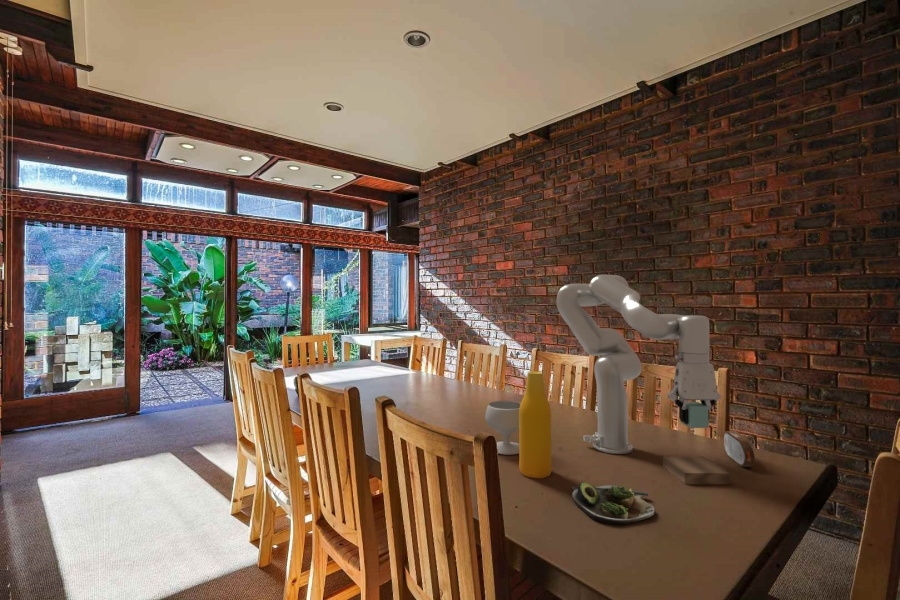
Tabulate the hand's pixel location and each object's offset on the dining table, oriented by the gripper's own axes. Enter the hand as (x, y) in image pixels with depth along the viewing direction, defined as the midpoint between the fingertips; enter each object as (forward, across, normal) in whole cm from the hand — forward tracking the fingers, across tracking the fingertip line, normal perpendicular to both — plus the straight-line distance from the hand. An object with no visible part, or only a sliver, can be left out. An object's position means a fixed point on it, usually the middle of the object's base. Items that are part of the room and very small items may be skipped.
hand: (694, 421), depth 120 cm
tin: (+15, +19, +10) cm, 26 cm away
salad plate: (+16, -31, -18) cm, 39 cm away
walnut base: (+15, 0, 0) cm, 15 cm away
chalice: (+15, -51, +21) cm, 57 cm away
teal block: (+1, 0, 0) cm, 1 cm away
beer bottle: (+15, -45, +2) cm, 48 cm away
